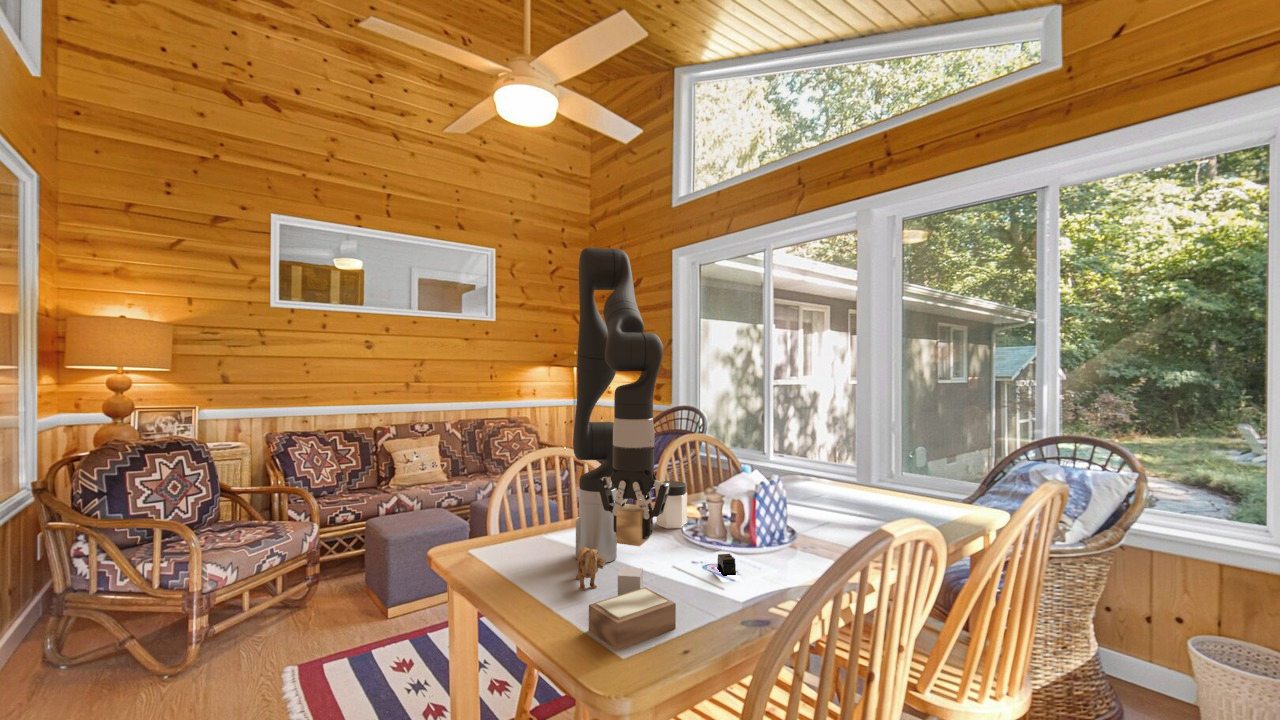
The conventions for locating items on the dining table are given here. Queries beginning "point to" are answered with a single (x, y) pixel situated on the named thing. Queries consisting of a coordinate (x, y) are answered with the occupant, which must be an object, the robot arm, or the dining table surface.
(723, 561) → the black block
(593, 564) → the lion figurine
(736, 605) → the dining table surface
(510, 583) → the dining table surface
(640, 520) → the oak block
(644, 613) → the plinth
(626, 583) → the grey block
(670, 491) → the jar
